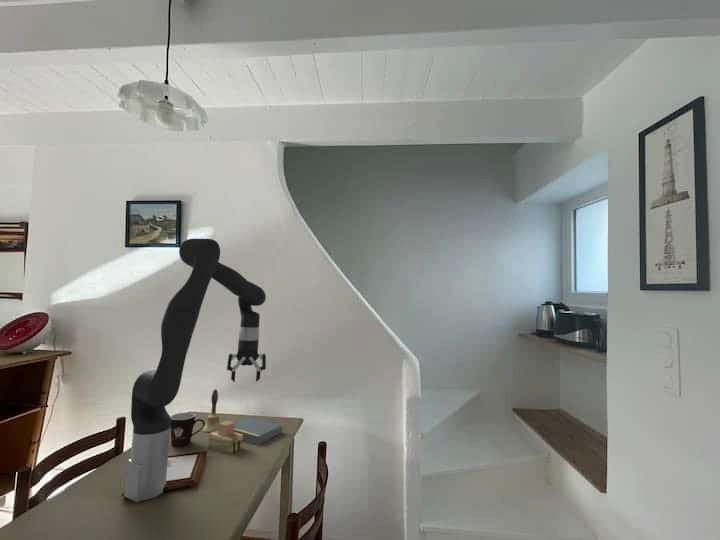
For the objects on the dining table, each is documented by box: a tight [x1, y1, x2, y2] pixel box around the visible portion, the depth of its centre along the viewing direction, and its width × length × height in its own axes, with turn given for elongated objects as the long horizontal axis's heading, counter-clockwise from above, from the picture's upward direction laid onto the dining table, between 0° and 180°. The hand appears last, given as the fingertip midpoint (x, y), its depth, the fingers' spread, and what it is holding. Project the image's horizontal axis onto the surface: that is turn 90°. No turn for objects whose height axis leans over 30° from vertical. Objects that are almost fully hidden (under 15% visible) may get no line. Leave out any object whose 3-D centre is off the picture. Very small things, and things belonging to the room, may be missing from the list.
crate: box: [218, 420, 236, 437], centre depth 130 cm, size 4×4×4 cm
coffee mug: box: [170, 411, 206, 448], centre depth 132 cm, size 12×9×10 cm
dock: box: [234, 417, 283, 446], centre depth 143 cm, size 14×18×3 cm
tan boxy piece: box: [208, 430, 244, 455], centre depth 130 cm, size 6×11×5 cm, turn 62°
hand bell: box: [201, 389, 221, 433], centre depth 148 cm, size 8×8×16 cm
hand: (245, 381), depth 136 cm, fingers open, 8 cm apart
